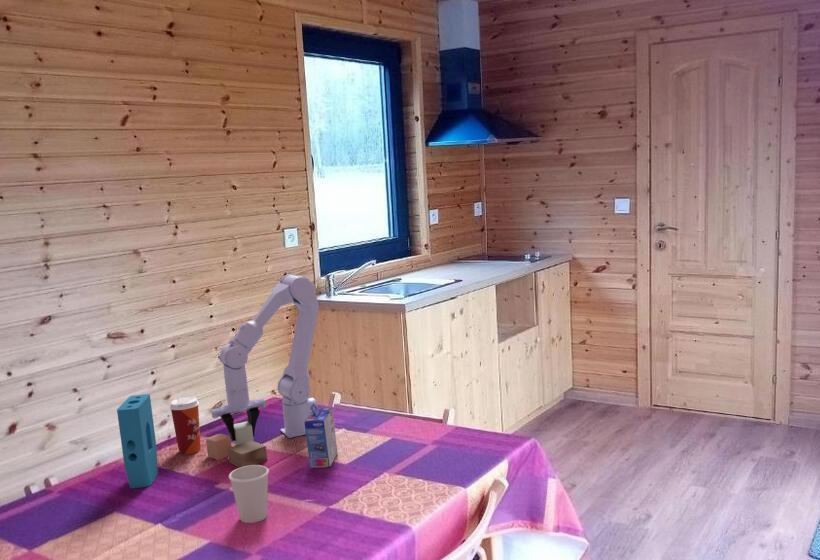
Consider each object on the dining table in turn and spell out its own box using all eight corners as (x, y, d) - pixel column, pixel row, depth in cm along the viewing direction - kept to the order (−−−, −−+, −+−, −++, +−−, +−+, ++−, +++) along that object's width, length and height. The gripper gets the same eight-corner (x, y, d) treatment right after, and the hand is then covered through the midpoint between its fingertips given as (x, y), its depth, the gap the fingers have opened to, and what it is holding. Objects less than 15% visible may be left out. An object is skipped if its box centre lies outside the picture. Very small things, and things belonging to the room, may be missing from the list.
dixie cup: (256, 505, 170) (251, 462, 168) (281, 513, 164) (276, 469, 163) (225, 520, 163) (220, 475, 162) (250, 529, 158) (245, 483, 157)
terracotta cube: (222, 451, 206) (220, 433, 205) (232, 454, 202) (230, 436, 202) (208, 456, 202) (205, 438, 202) (217, 460, 199) (215, 441, 199)
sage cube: (249, 438, 211) (247, 421, 210) (253, 443, 207) (251, 425, 206) (233, 442, 209) (230, 424, 208) (237, 447, 205) (235, 429, 204)
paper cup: (199, 455, 204) (193, 404, 202) (171, 456, 204) (164, 406, 202) (208, 444, 211) (202, 395, 209) (180, 446, 212) (174, 397, 210)
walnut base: (252, 454, 202) (251, 440, 201) (267, 460, 197) (265, 446, 196) (229, 463, 197) (227, 448, 196) (243, 469, 192) (241, 454, 191)
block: (148, 489, 183) (137, 408, 180) (126, 491, 183) (115, 410, 180) (160, 470, 195) (150, 393, 192) (140, 471, 195) (130, 395, 192)
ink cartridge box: (317, 453, 198) (311, 399, 196) (338, 452, 198) (333, 398, 196) (308, 468, 189) (302, 411, 187) (330, 467, 188) (325, 410, 186)
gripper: (213, 398, 199) (219, 448, 201) (267, 386, 206) (273, 435, 208) (207, 392, 205) (213, 440, 207) (260, 381, 212) (265, 428, 214)
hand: (242, 437), depth 208 cm, fingers closed on sage cube, 4 cm apart
